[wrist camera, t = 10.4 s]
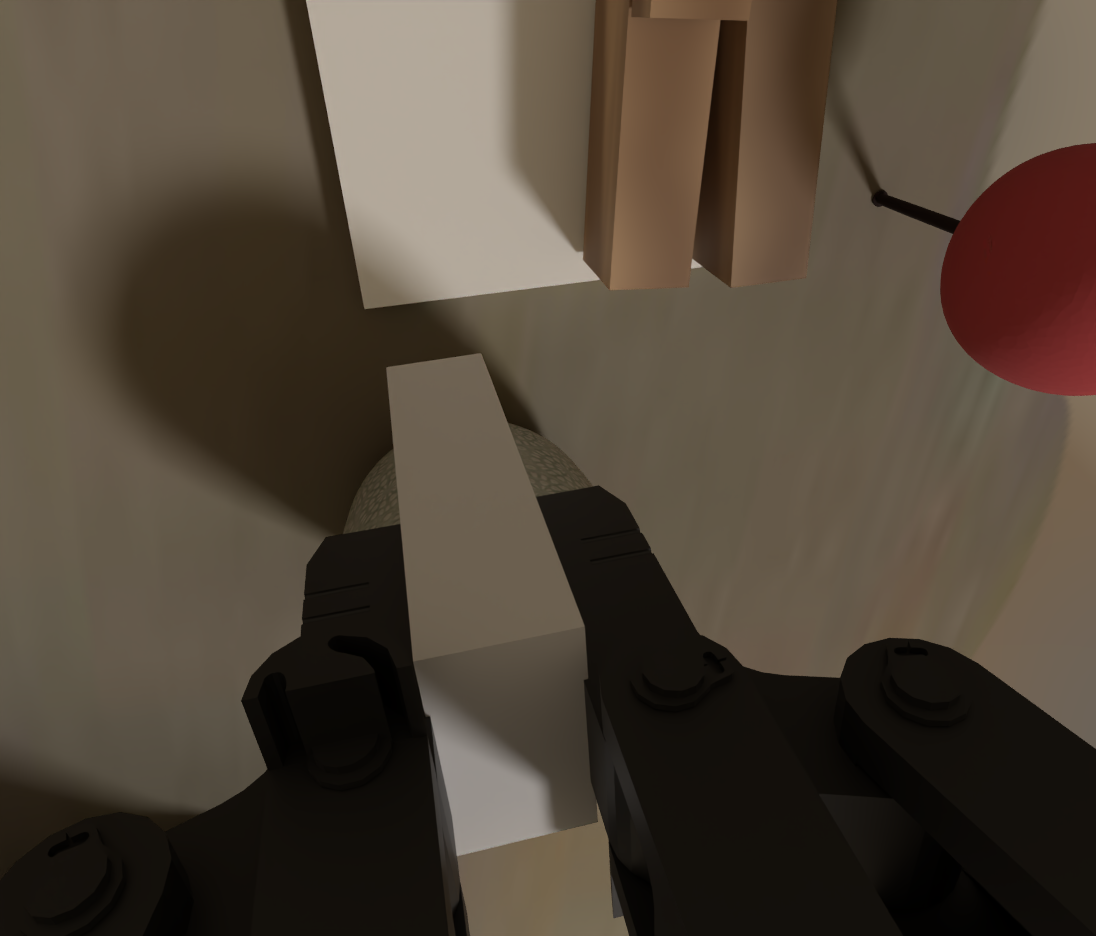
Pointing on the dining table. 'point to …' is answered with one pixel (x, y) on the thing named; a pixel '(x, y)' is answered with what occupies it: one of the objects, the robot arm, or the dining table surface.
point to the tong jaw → (649, 136)
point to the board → (459, 141)
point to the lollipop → (1025, 272)
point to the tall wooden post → (764, 142)
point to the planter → (537, 453)
